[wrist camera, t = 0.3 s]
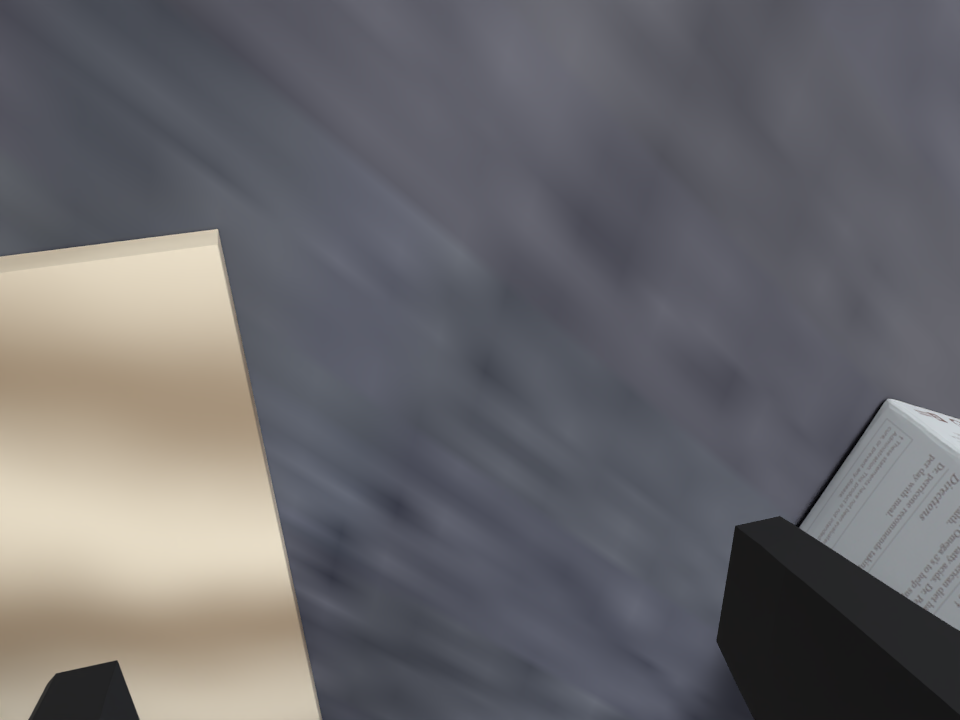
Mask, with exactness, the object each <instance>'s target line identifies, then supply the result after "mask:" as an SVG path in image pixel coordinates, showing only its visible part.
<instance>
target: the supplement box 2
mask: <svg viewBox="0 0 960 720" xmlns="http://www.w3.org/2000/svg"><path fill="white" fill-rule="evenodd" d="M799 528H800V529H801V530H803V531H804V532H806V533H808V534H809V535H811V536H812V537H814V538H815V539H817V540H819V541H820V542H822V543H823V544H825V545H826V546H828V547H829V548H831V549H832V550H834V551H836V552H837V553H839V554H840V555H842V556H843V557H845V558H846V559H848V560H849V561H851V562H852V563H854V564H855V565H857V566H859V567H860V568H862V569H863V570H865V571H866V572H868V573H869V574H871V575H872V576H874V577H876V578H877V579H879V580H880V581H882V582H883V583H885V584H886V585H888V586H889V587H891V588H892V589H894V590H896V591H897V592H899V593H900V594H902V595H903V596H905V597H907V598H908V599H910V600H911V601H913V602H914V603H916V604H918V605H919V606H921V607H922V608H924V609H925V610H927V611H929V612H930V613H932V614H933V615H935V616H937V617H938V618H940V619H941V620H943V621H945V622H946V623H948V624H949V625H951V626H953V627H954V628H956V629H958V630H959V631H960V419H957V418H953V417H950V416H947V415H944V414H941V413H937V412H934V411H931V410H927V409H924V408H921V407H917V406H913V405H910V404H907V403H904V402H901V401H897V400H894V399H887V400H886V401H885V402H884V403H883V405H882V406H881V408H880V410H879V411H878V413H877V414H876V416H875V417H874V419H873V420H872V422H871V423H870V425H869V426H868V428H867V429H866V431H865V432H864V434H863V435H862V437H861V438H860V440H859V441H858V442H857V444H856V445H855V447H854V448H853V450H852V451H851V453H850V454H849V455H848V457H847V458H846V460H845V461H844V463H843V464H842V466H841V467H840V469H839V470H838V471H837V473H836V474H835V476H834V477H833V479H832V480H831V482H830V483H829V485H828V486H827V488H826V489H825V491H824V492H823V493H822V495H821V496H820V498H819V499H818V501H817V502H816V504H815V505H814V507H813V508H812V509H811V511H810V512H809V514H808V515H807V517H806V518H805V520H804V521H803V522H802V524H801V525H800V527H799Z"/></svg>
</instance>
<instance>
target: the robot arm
mask: <svg viewBox="0 0 960 720" xmlns="http://www.w3.org/2000/svg"><path fill="white" fill-rule="evenodd" d="M717 643H718V646H719V648H720V650H721V652H722V654H723V656H724V658H725V661H726V663H727V665H728V667H729V669H730V671H731V673H732V675H733V678H734V680H735V682H736V684H737V686H738V688H739V690H740V692H741V694H742V696H743V698H744V700H745V702H746V704H747V706H748V708H749V710H750V712H751V714H752V716H753V718H754V720H960V631H959V630H958V629H956V628H954V627H953V626H951V625H949V624H948V623H946V622H945V621H943V620H941V619H940V618H938V617H937V616H935V615H933V614H932V613H930V612H929V611H927V610H925V609H924V608H922V607H921V606H919V605H918V604H916V603H914V602H913V601H911V600H910V599H908V598H907V597H905V596H903V595H902V594H900V593H899V592H897V591H896V590H894V589H892V588H891V587H889V586H888V585H886V584H885V583H883V582H882V581H880V580H879V579H877V578H876V577H874V576H872V575H871V574H869V573H868V572H866V571H865V570H863V569H862V568H860V567H859V566H857V565H855V564H854V563H852V562H851V561H849V560H848V559H846V558H845V557H843V556H842V555H840V554H839V553H837V552H836V551H834V550H832V549H831V548H829V547H828V546H826V545H825V544H823V543H822V542H820V541H819V540H817V539H815V538H814V537H812V536H811V535H809V534H808V533H806V532H804V531H803V530H801V529H800V528H798V527H797V526H795V525H793V524H792V523H790V522H788V521H787V520H785V519H783V518H782V517H780V516H779V517H774V518H770V519H765V520H760V521H756V522H751V523H747V524H742V525H737V526H735V531H734V537H733V543H732V550H731V556H730V562H729V568H728V574H727V580H726V586H725V592H724V598H723V604H722V610H721V616H720V622H719V629H718V635H717ZM28 720H140V719H139V716H138V714H137V711H136V708H135V706H134V703H133V700H132V698H131V695H130V692H129V690H128V687H127V684H126V682H125V679H124V676H123V673H122V671H121V668H120V665H119V663H118V660H115V661H111V662H106V663H102V664H97V665H92V666H88V667H83V668H79V669H74V670H69V671H65V672H60V673H56V674H55V675H54V676H53V677H52V679H51V680H50V681H49V682H48V683H47V685H46V687H45V689H44V691H43V693H42V695H41V697H40V699H39V700H38V702H37V704H36V706H35V708H34V710H33V712H32V714H31V716H30V717H29V719H28Z"/></svg>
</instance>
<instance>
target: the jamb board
mask: <svg viewBox="0 0 960 720" xmlns="http://www.w3.org/2000/svg"><path fill="white" fill-rule="evenodd" d="M115 660H118V663H119V665H120V668H121V671H122V673H123V676H124V679H125V682H126V684H127V687H128V690H129V692H130V695H131V698H132V700H133V703H134V706H135V708H136V711H137V714H138V716H139V719H140V720H322V717H321V712H320V707H319V702H318V698H317V693H316V688H315V684H314V679H313V674H312V669H311V665H310V660H309V655H308V651H307V646H306V641H305V637H304V632H303V627H302V622H301V618H300V613H299V608H298V604H297V599H296V594H295V589H294V585H293V580H292V575H291V571H290V566H289V561H288V557H287V552H286V547H285V542H284V538H283V533H282V528H281V524H280V519H279V514H278V509H277V505H276V500H275V495H274V491H273V486H272V481H271V477H270V472H269V467H268V462H267V458H266V453H265V448H264V444H263V439H262V434H261V429H260V425H259V420H258V415H257V411H256V406H255V401H254V397H253V392H252V387H251V382H250V378H249V373H248V368H247V364H246V359H245V354H244V349H243V345H242V340H241V335H240V331H239V326H238V321H237V317H236V312H235V307H234V302H233V298H232V293H231V288H230V284H229V279H228V274H227V269H226V265H225V260H224V255H223V251H222V246H221V241H220V237H219V232H218V229H215V230H207V231H199V232H191V233H183V234H175V235H167V236H160V237H152V238H144V239H136V240H128V241H120V242H112V243H104V244H96V245H89V246H81V247H73V248H65V249H57V250H49V251H41V252H33V253H26V254H18V255H10V256H2V257H0V720H28V719H29V717H30V716H31V714H32V712H33V710H34V708H35V706H36V704H37V702H38V700H39V699H40V697H41V695H42V693H43V691H44V689H45V687H46V685H47V683H48V682H49V681H50V680H51V679H52V677H53V676H54V675H55V674H56V673H60V672H65V671H69V670H74V669H79V668H83V667H88V666H92V665H97V664H102V663H106V662H111V661H115Z"/></svg>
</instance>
